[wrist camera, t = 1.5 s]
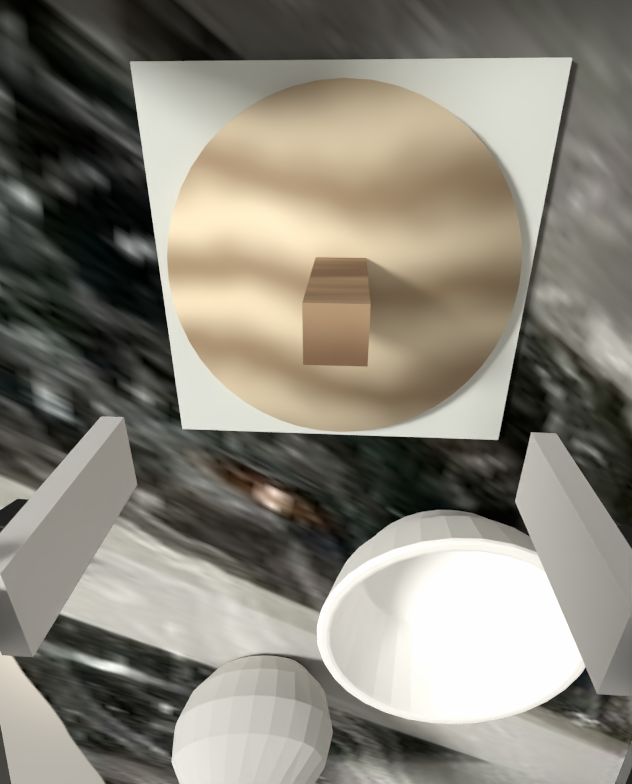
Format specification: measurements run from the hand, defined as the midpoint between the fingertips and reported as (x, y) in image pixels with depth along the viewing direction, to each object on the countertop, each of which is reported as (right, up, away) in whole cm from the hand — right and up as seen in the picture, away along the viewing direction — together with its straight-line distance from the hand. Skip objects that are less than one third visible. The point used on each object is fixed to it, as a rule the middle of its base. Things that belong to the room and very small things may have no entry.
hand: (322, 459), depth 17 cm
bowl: (+12, -14, +32) cm, 37 cm away
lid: (+2, +10, +19) cm, 22 cm away
